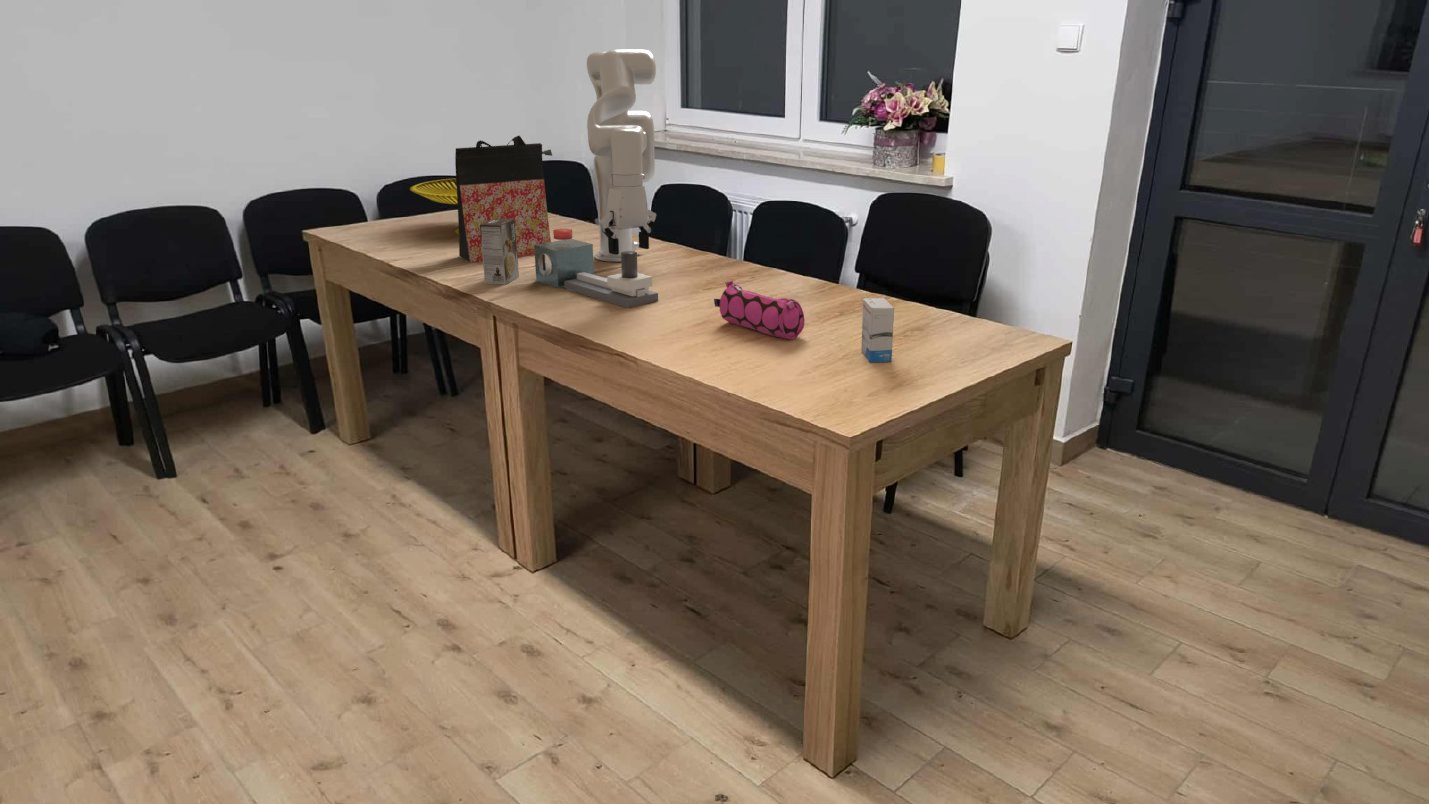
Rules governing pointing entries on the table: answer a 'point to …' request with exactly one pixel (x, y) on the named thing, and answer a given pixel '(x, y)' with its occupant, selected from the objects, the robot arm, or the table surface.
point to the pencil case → (761, 312)
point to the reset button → (562, 234)
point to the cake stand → (438, 192)
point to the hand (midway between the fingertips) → (629, 251)
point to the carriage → (629, 276)
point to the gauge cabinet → (562, 261)
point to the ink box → (877, 330)
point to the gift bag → (501, 194)
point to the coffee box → (499, 251)
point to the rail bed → (607, 291)
